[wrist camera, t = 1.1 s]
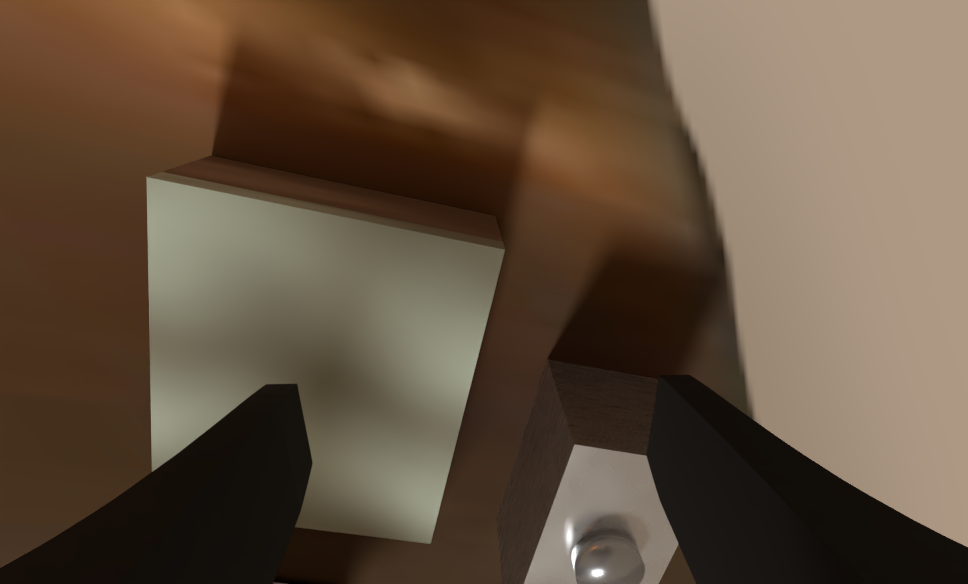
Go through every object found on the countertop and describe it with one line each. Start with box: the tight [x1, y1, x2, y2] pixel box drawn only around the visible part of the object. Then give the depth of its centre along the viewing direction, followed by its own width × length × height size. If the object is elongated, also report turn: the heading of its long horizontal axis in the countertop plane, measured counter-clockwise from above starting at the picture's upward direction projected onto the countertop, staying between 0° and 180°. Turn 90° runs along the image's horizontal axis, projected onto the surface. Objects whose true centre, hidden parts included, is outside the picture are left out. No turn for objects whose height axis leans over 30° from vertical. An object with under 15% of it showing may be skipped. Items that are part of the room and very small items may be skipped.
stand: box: [147, 156, 505, 544], centre depth 19 cm, size 12×10×4 cm
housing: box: [497, 359, 678, 584], centre depth 21 cm, size 9×5×6 cm, turn 167°
